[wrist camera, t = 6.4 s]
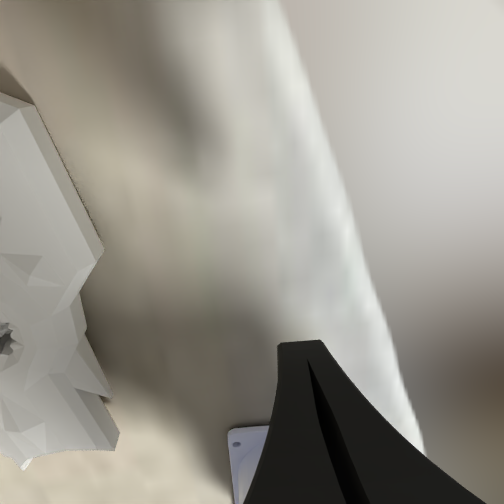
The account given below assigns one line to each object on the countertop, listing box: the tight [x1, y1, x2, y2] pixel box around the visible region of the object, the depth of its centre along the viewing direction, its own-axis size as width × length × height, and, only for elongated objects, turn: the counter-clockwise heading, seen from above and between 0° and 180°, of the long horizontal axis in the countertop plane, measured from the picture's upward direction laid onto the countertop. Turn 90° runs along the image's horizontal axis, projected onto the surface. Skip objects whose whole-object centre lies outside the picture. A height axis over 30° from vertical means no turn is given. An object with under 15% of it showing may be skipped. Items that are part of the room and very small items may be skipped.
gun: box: [0, 92, 120, 471], centre depth 16 cm, size 18×4×10 cm
